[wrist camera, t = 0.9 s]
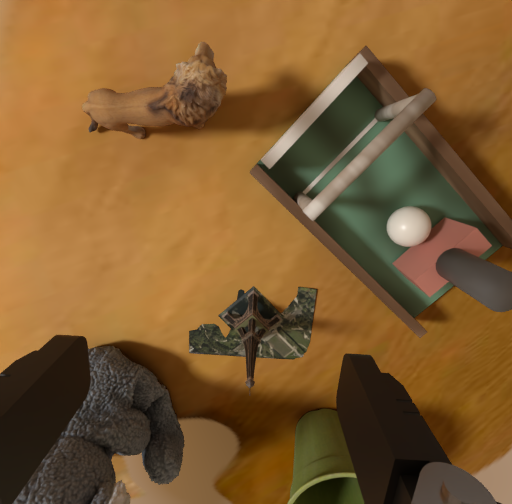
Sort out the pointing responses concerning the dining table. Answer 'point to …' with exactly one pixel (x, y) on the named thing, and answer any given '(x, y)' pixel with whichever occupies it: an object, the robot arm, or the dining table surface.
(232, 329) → the eiffel tower figurine
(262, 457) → the dining table surface
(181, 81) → the lion figurine
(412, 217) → the ball
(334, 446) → the plant pot
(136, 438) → the koala plush
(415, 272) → the striker
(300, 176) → the pitch
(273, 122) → the dining table surface
